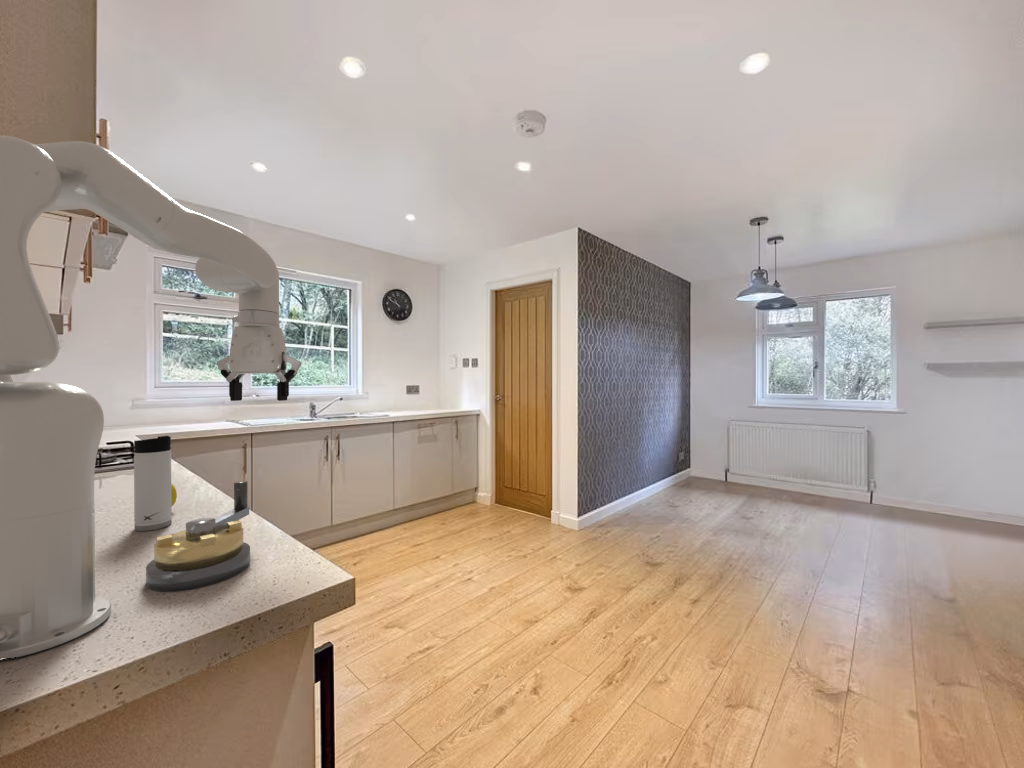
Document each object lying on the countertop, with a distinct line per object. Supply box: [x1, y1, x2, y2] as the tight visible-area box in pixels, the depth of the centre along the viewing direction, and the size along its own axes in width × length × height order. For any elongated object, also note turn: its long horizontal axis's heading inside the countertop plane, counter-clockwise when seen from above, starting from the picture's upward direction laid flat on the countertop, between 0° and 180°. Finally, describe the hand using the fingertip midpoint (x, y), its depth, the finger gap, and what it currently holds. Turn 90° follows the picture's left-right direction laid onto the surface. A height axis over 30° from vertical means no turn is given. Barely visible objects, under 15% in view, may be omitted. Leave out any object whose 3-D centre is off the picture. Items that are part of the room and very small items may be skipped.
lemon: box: [171, 483, 178, 507], centre depth 103 cm, size 6×6×8 cm
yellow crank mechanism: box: [153, 480, 250, 570], centre depth 74 cm, size 18×12×10 cm, turn 2°
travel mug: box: [133, 435, 173, 532], centre depth 94 cm, size 6×7×20 cm
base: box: [145, 541, 251, 593], centre depth 71 cm, size 14×14×2 cm
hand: (259, 400), depth 92 cm, fingers open, 9 cm apart
